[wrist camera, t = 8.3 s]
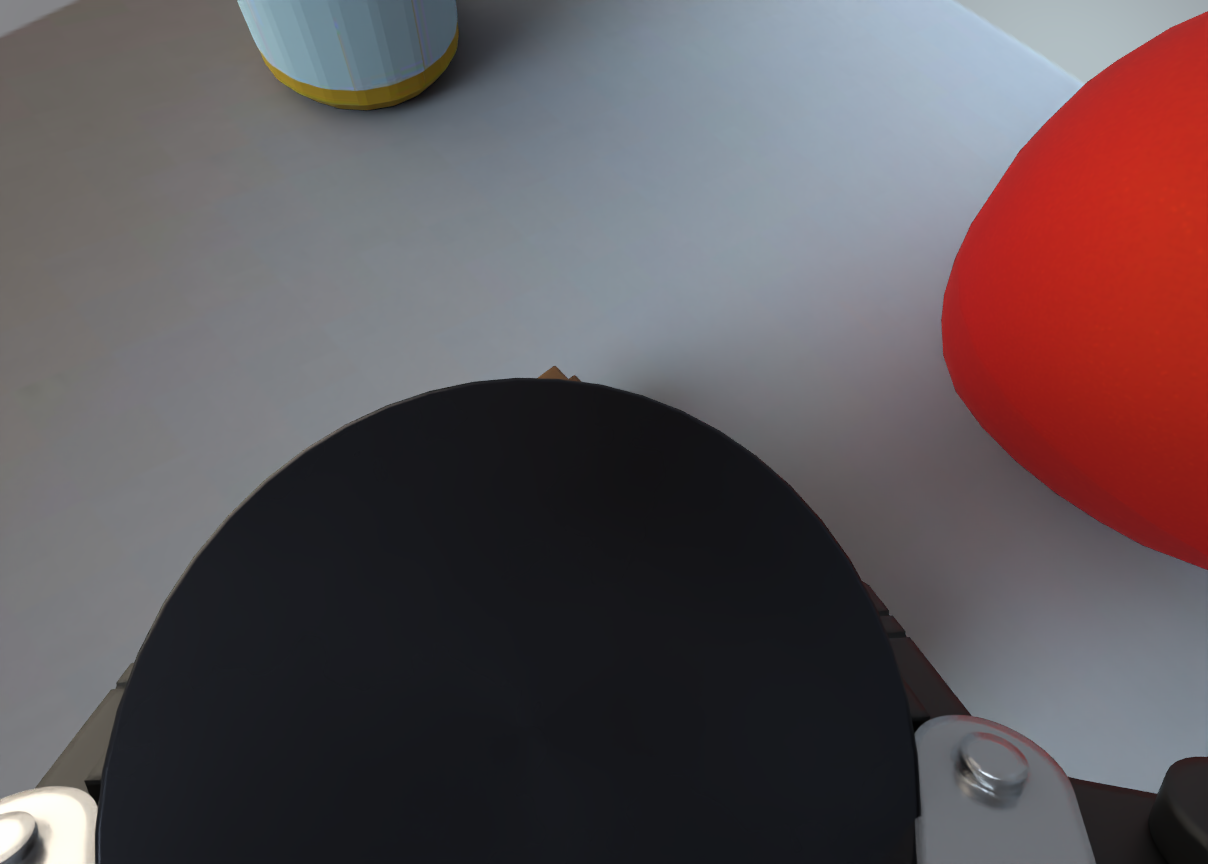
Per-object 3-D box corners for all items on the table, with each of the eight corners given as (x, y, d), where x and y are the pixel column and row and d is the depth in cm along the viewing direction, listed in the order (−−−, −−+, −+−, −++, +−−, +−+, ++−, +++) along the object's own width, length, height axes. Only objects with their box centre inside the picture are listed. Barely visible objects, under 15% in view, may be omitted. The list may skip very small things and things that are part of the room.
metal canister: (557, 514, 15) (569, 263, 7) (761, 743, 14) (1078, 764, 6) (312, 718, 13) (-69, 699, 5) (517, 1010, 12) (447, 1656, 4)
